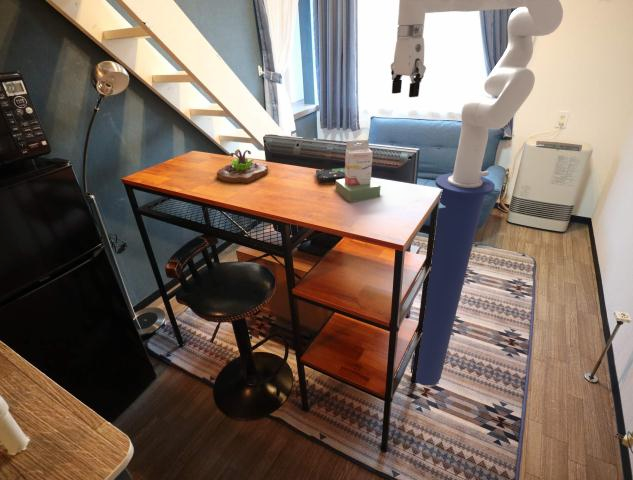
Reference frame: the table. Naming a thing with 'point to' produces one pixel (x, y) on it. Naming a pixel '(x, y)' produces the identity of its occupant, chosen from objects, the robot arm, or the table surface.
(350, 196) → the green block
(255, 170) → the plant
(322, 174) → the disk drive
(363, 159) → the ink cartridge box
